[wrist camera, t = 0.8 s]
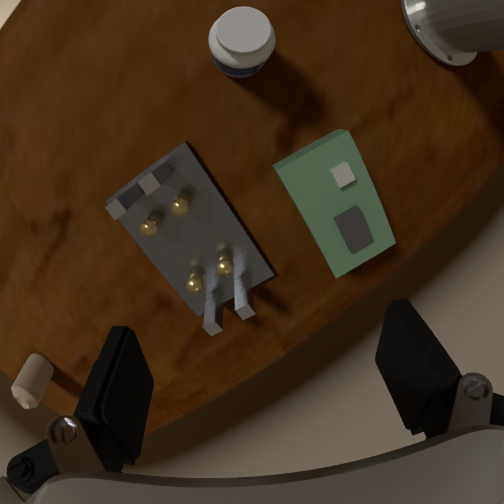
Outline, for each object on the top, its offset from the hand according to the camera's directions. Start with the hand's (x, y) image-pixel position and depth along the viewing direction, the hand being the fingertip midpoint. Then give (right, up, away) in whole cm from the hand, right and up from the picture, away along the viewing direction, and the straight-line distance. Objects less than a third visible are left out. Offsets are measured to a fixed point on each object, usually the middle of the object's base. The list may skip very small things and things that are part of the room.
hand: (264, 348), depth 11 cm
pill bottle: (-2, +23, +16) cm, 28 cm away
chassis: (-7, +5, +23) cm, 25 cm away
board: (+7, +8, +18) cm, 21 cm away
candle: (-39, -17, +32) cm, 53 cm away
